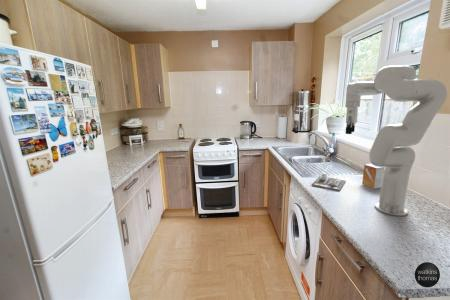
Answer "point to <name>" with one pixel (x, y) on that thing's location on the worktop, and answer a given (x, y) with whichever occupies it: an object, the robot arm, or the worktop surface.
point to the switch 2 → (333, 181)
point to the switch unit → (328, 184)
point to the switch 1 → (324, 177)
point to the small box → (372, 176)
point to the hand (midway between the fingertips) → (349, 132)
